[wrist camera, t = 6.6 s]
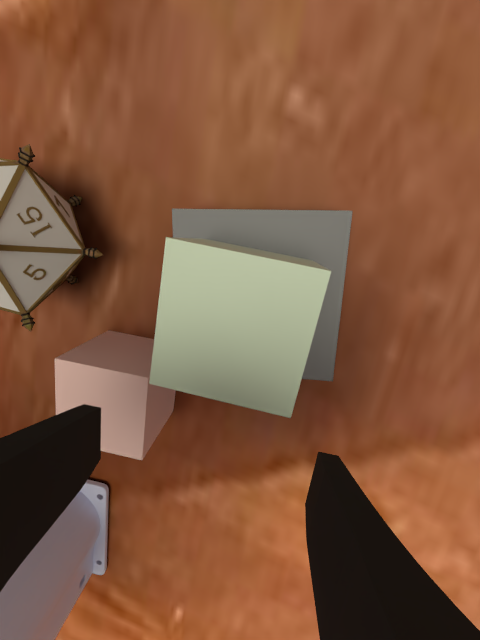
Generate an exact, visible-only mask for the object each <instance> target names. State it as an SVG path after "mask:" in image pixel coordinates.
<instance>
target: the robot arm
mask: <svg viewBox="0 0 480 640" xmlns="http://www.w3.org/2000/svg"><path fill="white" fill-rule="evenodd" d="M100 459H101V407H96V406H91V405H86V404H83V405H80V406H77V407H75V408H72V409H70V410H67V411H65V412H62V413H60V414H58V415H55V416H53V417H50V418H48V419H46V420H43V421H41V422H39V423H36V424H34V425H31V426H29V427H27V428H24V429H22V430H20V431H17V432H15V433H12V434H10V435H7V436H5V437H2V438H0V640H55V638H56V636H57V635H58V633H59V631H60V629H61V628H62V626H63V624H64V622H65V620H66V619H67V617H68V615H69V613H70V612H71V610H72V608H73V606H74V605H75V603H76V601H77V599H78V598H79V596H80V594H81V592H82V591H83V589H84V587H85V585H86V583H87V582H88V580H89V578H90V576H91V575H92V573H93V574H97V575H103V574H104V573H105V571H106V569H107V537H108V500H109V488H108V486H107V485H106V484H104V483H100V482H96V481H92V480H88V478H89V477H90V475H91V473H92V472H93V470H94V469H95V467H96V465H97V464H98V462H99V460H100ZM305 508H306V538H307V548H308V555H309V563H310V570H311V578H312V585H313V592H314V599H315V606H316V614H317V621H318V628H319V635H320V640H480V631H479V630H478V629H477V628H476V627H475V626H474V625H473V624H472V623H471V621H470V620H469V619H468V618H467V617H466V616H465V615H464V614H463V613H462V612H461V611H460V610H459V609H458V608H457V607H456V606H455V604H454V603H453V602H452V601H451V600H450V599H449V598H448V597H447V596H446V594H445V593H444V592H443V591H442V590H441V589H440V588H439V587H438V585H437V584H436V583H435V582H434V581H433V580H432V579H431V578H430V577H429V575H428V574H427V573H426V572H425V571H424V570H423V568H422V567H421V566H420V565H419V564H418V563H417V561H416V560H415V559H414V558H413V557H412V555H411V554H410V553H409V552H408V550H407V549H406V548H405V547H404V545H403V544H402V543H401V542H400V540H399V539H398V538H397V537H396V536H395V534H394V533H393V532H392V530H391V529H390V528H389V527H388V525H387V524H386V523H385V521H384V520H383V519H382V517H381V516H380V515H379V513H378V512H377V511H376V509H375V508H374V506H373V505H372V504H371V502H370V501H369V500H368V498H367V497H366V495H365V494H364V492H363V491H362V490H361V488H360V487H359V485H358V484H357V482H356V481H355V479H354V478H353V477H352V475H351V474H350V472H349V471H348V469H347V468H346V466H345V465H344V463H343V462H342V461H341V459H340V458H339V456H337V455H332V454H327V453H322V452H318V455H317V459H316V463H315V467H314V471H313V475H312V479H311V483H310V487H309V491H308V495H307V499H306V503H305Z"/></svg>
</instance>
